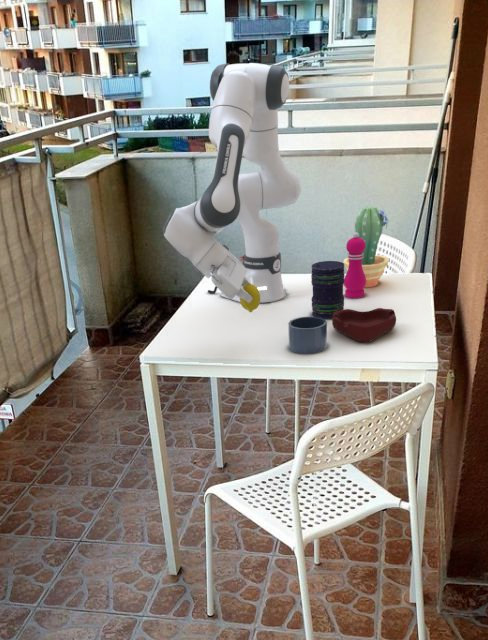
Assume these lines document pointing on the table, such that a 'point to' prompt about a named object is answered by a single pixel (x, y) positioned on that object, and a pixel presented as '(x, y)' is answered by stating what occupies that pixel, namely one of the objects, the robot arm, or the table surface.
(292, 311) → the table surface
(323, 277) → the dark blue barrel
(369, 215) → the potted cactus
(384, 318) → the ashtray
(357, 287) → the pepper mill
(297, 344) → the cup
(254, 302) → the lemon
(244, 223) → the robot arm
